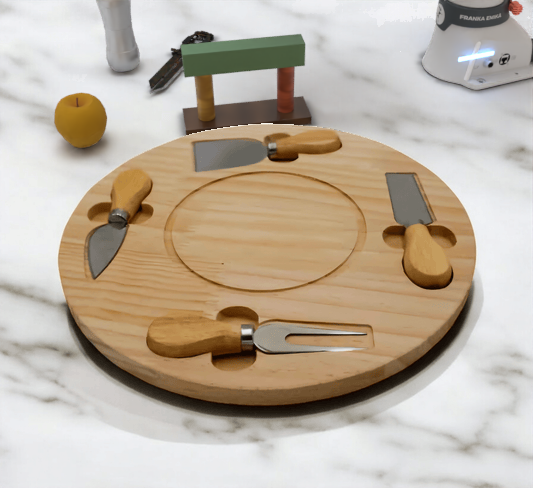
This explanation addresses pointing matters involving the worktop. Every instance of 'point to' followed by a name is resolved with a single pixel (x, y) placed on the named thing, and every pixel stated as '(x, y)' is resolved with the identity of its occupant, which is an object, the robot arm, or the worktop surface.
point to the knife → (176, 62)
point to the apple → (80, 119)
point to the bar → (243, 55)
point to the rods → (246, 107)
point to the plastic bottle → (119, 34)
